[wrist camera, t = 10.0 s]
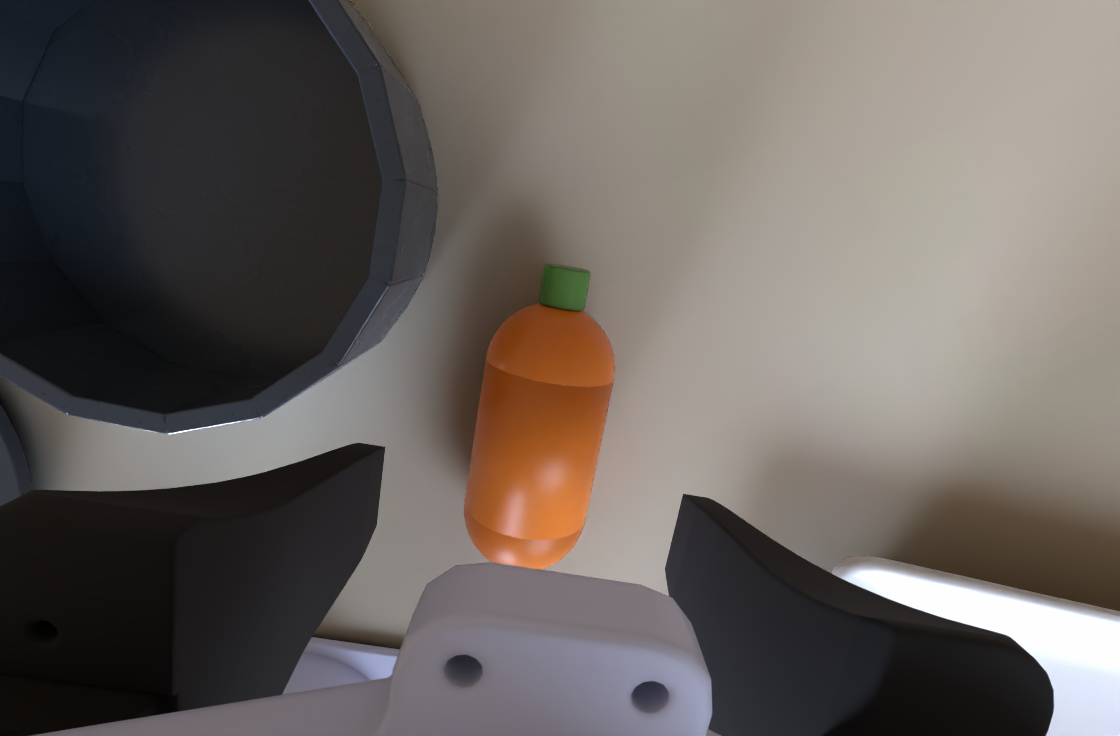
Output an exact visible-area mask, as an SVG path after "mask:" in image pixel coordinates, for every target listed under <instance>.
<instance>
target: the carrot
mask: <svg viewBox="0 0 1120 736" xmlns="http://www.w3.org/2000/svg"><path fill="white" fill-rule="evenodd" d="M589 279H590V272H589V271H587V270H583V269H579V268H574V267H569V266H563V265H557V264H545V266H544V270H543V276H542V282H541V288H540V294H539V303H538V304H534V305H531V306H528V307H525V308H523V309H521V310H519V311H517V312H516V313H514V314H512V315H511V316H510V317H509V318H508V319H507V320H505V321H504V322H503V323H502V324H501V326H500V327H499V328H498V330H497V331H496V332H495V334H494V336H493V338H492V340H491V342H490V344H489V348H488V352H487V356H486V361H485V368H484V374H483V381H482V388H481V395H480V401H479V408H478V415H477V421H476V428H475V435H474V442H473V448H472V455H471V462H470V468H469V475H468V482H467V488H466V495H465V506H464V517H465V522H466V527H467V530H468V533H469V535H470V537H471V540H472V541H473V543H474V545H475V546H476V547H477V549H478V550H479V551H480V552H481V553H482V554H483V555H484V556H485V557H486V558H487V559H489V560H490V561H492V562H493V563H498V564H505V565H512V566H519V567H525V568H532V569H539V570H540V569H543V568H546V567H549V566H551V565H553V564H554V563H556V562H558V561H559V560H561V559H562V558H563V557H564V556H565V555H566V554H567V553H568V552H569V551H570V550H571V549H572V548H573V547H574V545H575V543H576V542H577V540H578V538H579V536H580V535H581V533H582V530H583V526H584V523H585V519H586V514H587V509H588V504H589V499H590V495H591V490H592V485H593V480H594V475H595V470H596V465H597V460H598V455H599V450H600V445H601V440H602V435H603V430H604V425H605V421H606V416H607V411H608V406H609V401H610V396H611V391H612V386H613V381H614V371H615V364H614V354H613V350H612V347H611V344H610V341H609V339H608V337H607V336H606V334H605V332H604V330H603V329H602V328H601V327H600V326H599V324H598V323H597V322H596V321H595V320H594V319H593V318H591V317H590V316H589V315H588V314H586V313H585V312H583V311H582V310H583V309H584V306H585V301H586V295H587V290H588V284H589Z"/></svg>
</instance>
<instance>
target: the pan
mask: <svg viewBox="0 0 1120 736" xmlns="http://www.w3.org/2000/svg"><path fill="white" fill-rule="evenodd" d="M437 192H438V188H437V178H436V172H435V165H434V159H433V152H432V148H431V144H430V141H429V137H428V134H427V130H426V126H425V123H424V120H423V118H422V114H421V110H420V105H419V104H418V101H417V99H416V97H415V96H414V94H413V93H412V91H411V90H410V88H409V86H408V85H407V83H406V81H405V80H404V78H403V76H402V74H401V73H400V71H399V69H398V67H397V66H396V65H395V63H394V62H393V60H392V59H391V58H390V56H389V55H388V54H387V52H386V51H385V49H384V48H383V46H382V45H381V43H380V41H379V40H378V38H377V37H376V35H375V34H374V32H373V31H372V29H371V27H370V26H369V24H368V23H367V22H366V21H365V19H364V18H363V17H362V16H361V15H360V14H359V13H358V11H357V10H356V9H355V8H354V7H353V6H352V5H351V3H350V2H349V1H348V0H0V376H1V377H3V378H4V379H6V380H8V381H10V382H11V383H13V384H15V385H16V386H18V387H20V388H22V389H23V390H25V391H27V392H29V393H30V394H32V395H34V396H36V397H37V398H39V399H41V400H42V401H44V402H46V403H48V404H49V405H51V406H53V407H55V408H56V409H58V410H60V411H62V412H63V413H65V414H68V415H69V416H74V417H79V418H84V419H89V420H95V421H100V422H105V423H110V424H115V425H120V426H125V427H130V428H135V429H140V430H145V431H151V432H156V433H161V434H175V433H181V432H186V431H192V430H198V429H204V428H209V427H215V426H221V425H226V424H232V423H238V422H243V421H249V420H255V419H260V418H262V417H265V416H266V415H268V414H269V413H271V412H273V411H274V410H276V409H277V408H279V407H281V406H282V405H284V404H285V403H287V402H289V401H290V400H292V399H293V398H295V397H297V396H298V395H300V394H301V393H303V392H305V391H306V390H308V389H309V388H311V387H313V386H314V385H316V384H317V383H319V382H321V381H322V380H324V379H325V378H327V377H328V376H330V375H331V374H333V373H334V372H336V371H337V370H339V369H340V368H342V367H343V366H345V365H346V364H348V363H350V362H351V361H353V360H354V359H356V358H357V357H359V356H360V355H362V354H363V353H365V352H366V351H368V350H369V349H371V348H372V347H374V346H375V345H377V344H378V343H380V342H381V341H382V340H383V339H384V338H385V336H386V335H387V333H388V332H389V330H390V328H391V327H392V326H393V325H394V324H395V322H396V321H397V320H398V318H399V317H400V316H401V314H402V313H403V311H404V310H405V309H406V307H407V306H408V304H409V302H410V300H411V299H412V297H413V295H414V293H415V291H416V289H417V288H418V286H419V284H420V281H421V280H422V278H423V276H424V275H423V274H424V273H425V270H426V266H427V263H428V260H429V256H430V252H431V248H432V243H433V239H434V235H435V226H436V216H437V197H438V193H437Z"/></svg>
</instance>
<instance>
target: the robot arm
mask: <svg viewBox="0 0 1120 736" xmlns="http://www.w3.org/2000/svg"><path fill="white" fill-rule="evenodd" d="M384 452H385V447H382V446H375V445H369V444H363V443H356V444H351V445H347V446H344V447H341V448H338V449H335V450H332V451H329V452H326V453H323V454H321V455H318V456H315V457H312V458H309V459H306V460H303V461H300V462H297V463H294V464H290V465H287V466H284V467H280V468H277V469H274V470H270V471H267V472H263V473H259V474H256V475H251V476H247V477H242V478H237V479H232V480H227V481H222V482H216V483H209V484H202V485H194V486H186V487H178V488H169V489H156V490H140V491H101V492H98V491H58V490H31V491H29V492H28V493H26V494H24V495H22V496H20V497H18V498H16V499H14V500H12V501H10V502H8V503H6V504H4V505H2V506H0V736H1046V734H1047V732H1048V730H1049V726H1050V723H1051V719H1052V716H1053V712H1054V689H1053V687H1052V684H1051V682H1050V679H1049V676H1048V674H1047V672H1046V671H1045V670H1044V669H1043V667H1042V666H1041V665H1040V664H1039V663H1038V661H1037V660H1036V659H1035V658H1034V657H1033V656H1032V655H1030V654H1029V653H1028V652H1027V651H1026V650H1025V649H1024V648H1023V647H1021V646H1020V645H1019V644H1018V643H1017V642H1016V641H1015V640H1013V639H1012V638H1011V637H1009V636H1007V635H1005V634H1001V633H998V632H994V631H990V630H987V629H983V628H979V627H975V626H972V625H968V624H964V623H961V622H957V621H953V620H949V619H946V618H943V617H939V616H936V615H933V614H930V613H927V612H924V611H921V610H918V609H915V608H912V607H909V606H907V605H904V604H901V603H898V602H896V601H893V600H890V599H888V598H885V597H883V596H880V595H878V594H876V593H873V592H871V591H868V590H866V589H864V588H861V587H859V586H857V585H854V584H852V583H850V582H848V581H846V580H844V579H841V578H839V577H837V576H835V575H833V574H831V573H830V572H828V571H826V570H824V569H822V568H820V567H818V566H816V565H814V564H812V563H810V562H809V561H807V560H805V559H803V558H802V557H800V556H798V555H797V554H795V553H793V552H792V551H790V550H788V549H787V548H785V547H784V546H782V545H780V544H779V543H777V542H776V541H774V540H773V539H771V538H770V537H768V536H767V535H765V534H764V533H762V532H761V531H759V530H758V529H756V528H755V527H753V526H752V525H750V524H749V523H747V522H746V521H745V520H743V519H742V518H740V517H739V516H737V515H736V514H734V513H733V512H731V511H730V510H728V509H727V508H725V507H724V506H722V505H721V504H719V503H717V502H715V501H714V500H711V499H709V498H705V497H699V496H692V495H686V494H683V497H682V501H681V505H680V509H679V514H678V518H677V522H676V526H675V530H674V534H673V538H672V542H671V547H670V551H669V555H668V559H667V563H666V567H665V572H666V579H667V585H668V591H669V596H667V595H665V594H662V593H660V592H657V591H655V590H652V589H650V588H647V587H645V586H643V585H639V584H633V583H626V582H619V581H612V580H606V579H599V578H592V577H586V576H579V575H572V574H566V573H559V572H552V571H545V570H539V569H532V568H525V567H519V566H512V565H505V564H498V563H492V562H491V563H479V564H467V565H456V566H454V567H452V568H451V569H449V570H448V571H446V572H445V573H443V574H442V575H440V576H439V577H437V578H435V579H434V580H432V581H431V582H429V583H428V584H427V585H426V587H425V589H424V591H423V594H422V596H421V598H420V600H419V602H418V604H417V607H416V609H415V611H414V613H413V616H412V619H411V621H410V624H409V627H408V629H407V632H406V635H405V637H404V640H403V643H402V645H401V648H400V649H393V648H386V647H379V646H372V645H364V644H357V643H350V642H343V641H336V640H329V639H322V638H314V637H312V636H313V634H314V633H315V631H316V629H317V628H318V626H319V625H320V623H321V622H322V620H323V619H324V617H325V616H326V614H327V612H328V611H329V609H330V608H331V606H332V605H333V603H334V602H335V600H336V598H337V597H338V595H339V594H340V592H341V591H342V589H343V588H344V586H345V585H346V583H347V581H348V580H349V578H350V577H351V575H352V573H353V572H354V570H355V569H356V567H357V565H358V564H359V562H360V561H361V559H362V557H363V555H364V552H365V550H366V548H367V546H368V544H369V542H370V539H371V537H372V535H373V532H374V530H375V528H376V525H377V516H378V507H379V498H380V489H381V480H382V471H383V462H384Z"/></svg>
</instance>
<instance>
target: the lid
mask: <svg viewBox="0 0 1120 736" xmlns="http://www.w3.org/2000/svg"><path fill="white" fill-rule="evenodd" d="M31 490H33V486H32V481H31V477H30V472H29V467H28V463H27V461H26V458H25V455H24V452H23V449H22V446H21V443H20V441H19V438H18V436H17V434H16V432H15V430H14V428H13V426H12V424H11V422H10V420H9V418H8V416H7V414H6V413H5V411H4V410H3V408H2V407H1V405H0V506H2V505H4V504H6V503H8V502H10V501H12V500H14V499H16V498H18V497H20V496H22V495H24V494H26V493H28V492H29V491H31Z"/></svg>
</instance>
